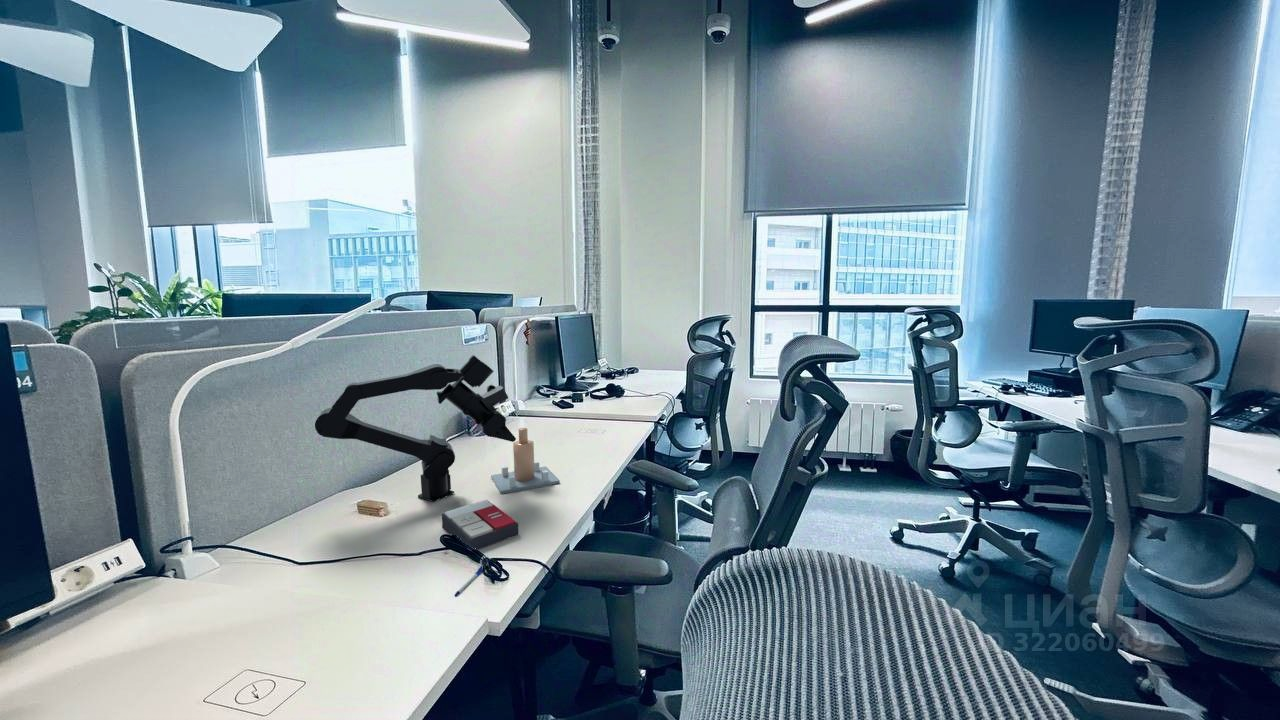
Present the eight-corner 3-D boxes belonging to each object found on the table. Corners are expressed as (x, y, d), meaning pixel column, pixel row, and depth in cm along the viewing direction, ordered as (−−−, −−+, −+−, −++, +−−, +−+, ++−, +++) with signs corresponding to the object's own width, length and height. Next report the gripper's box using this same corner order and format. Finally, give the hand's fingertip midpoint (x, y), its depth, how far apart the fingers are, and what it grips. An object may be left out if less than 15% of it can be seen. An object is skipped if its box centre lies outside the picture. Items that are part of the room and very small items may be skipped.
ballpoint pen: (485, 565, 95) (484, 560, 95) (489, 565, 95) (489, 560, 95) (453, 597, 85) (453, 591, 85) (458, 597, 85) (458, 592, 85)
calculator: (469, 537, 99) (440, 510, 110) (470, 556, 100) (441, 528, 111) (519, 520, 107) (487, 496, 118) (519, 538, 107) (487, 513, 118)
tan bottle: (531, 481, 136) (529, 431, 134) (511, 481, 136) (509, 431, 134) (537, 474, 141) (535, 426, 140) (518, 474, 142) (516, 426, 140)
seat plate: (500, 493, 129) (500, 481, 129) (491, 478, 141) (490, 466, 140) (559, 483, 137) (559, 471, 136) (546, 468, 148) (545, 458, 148)
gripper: (495, 382, 123) (540, 420, 129) (482, 372, 139) (522, 407, 146) (463, 417, 120) (510, 454, 127) (453, 402, 137) (496, 436, 143)
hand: (510, 436), depth 136 cm, fingers open, 9 cm apart
